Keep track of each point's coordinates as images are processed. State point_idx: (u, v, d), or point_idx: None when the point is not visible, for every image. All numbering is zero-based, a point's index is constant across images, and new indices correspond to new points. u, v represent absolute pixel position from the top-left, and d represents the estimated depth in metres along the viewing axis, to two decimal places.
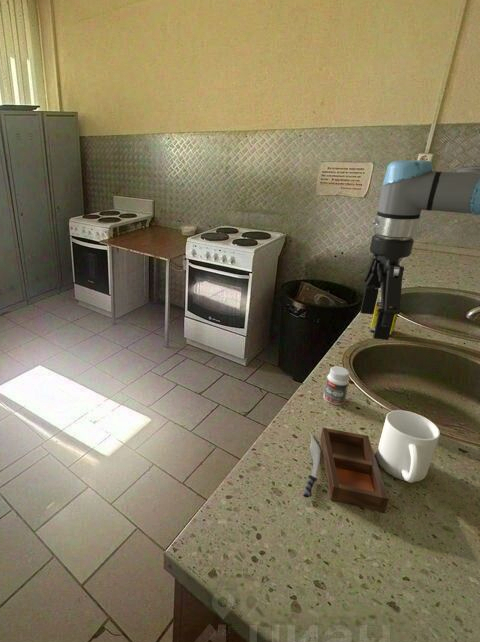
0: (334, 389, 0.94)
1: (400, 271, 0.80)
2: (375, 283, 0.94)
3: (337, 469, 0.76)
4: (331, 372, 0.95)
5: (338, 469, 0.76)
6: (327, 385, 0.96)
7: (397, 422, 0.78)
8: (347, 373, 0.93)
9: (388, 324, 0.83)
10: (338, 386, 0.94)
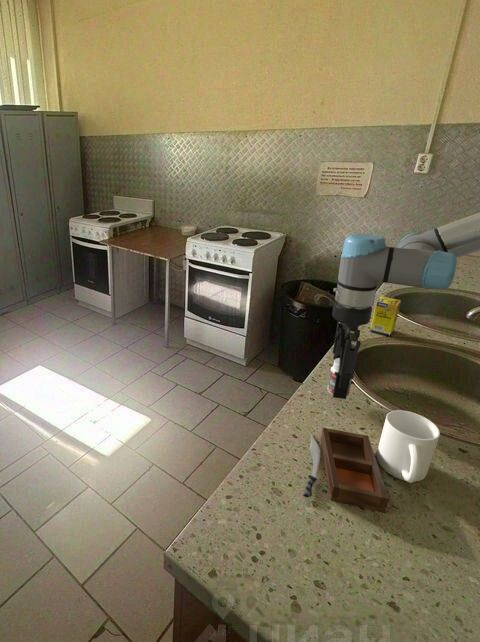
0: None
1: (356, 346, 0.85)
2: None
3: (337, 469, 0.76)
4: (334, 364, 0.94)
5: (338, 469, 0.76)
6: (331, 377, 0.95)
7: (397, 422, 0.78)
8: None
9: (344, 386, 0.91)
10: None
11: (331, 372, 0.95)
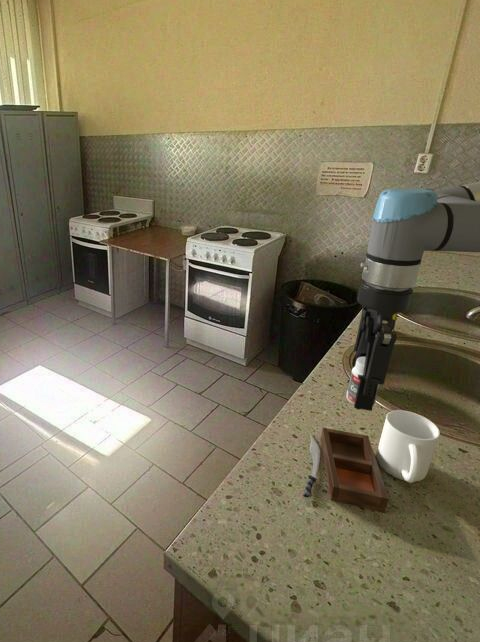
0: None
1: (391, 341, 0.63)
2: None
3: (337, 469, 0.76)
4: (357, 364, 0.71)
5: (338, 469, 0.76)
6: (352, 381, 0.73)
7: (397, 422, 0.78)
8: None
9: (371, 394, 0.69)
10: None
11: (352, 375, 0.72)
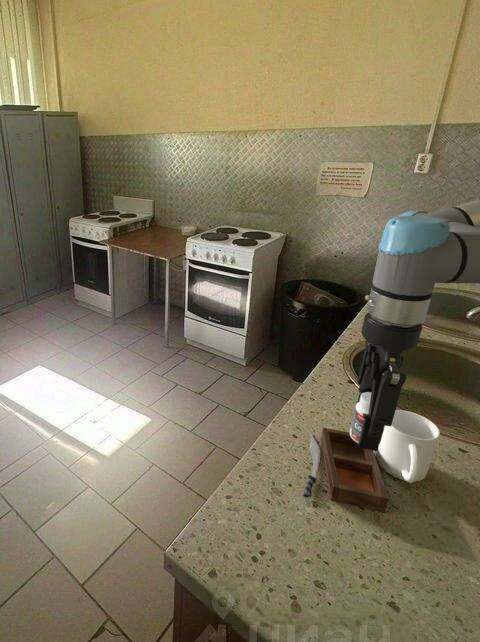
0: None
1: (400, 381, 0.58)
2: None
3: (337, 469, 0.76)
4: (362, 401, 0.67)
5: (338, 469, 0.76)
6: (356, 419, 0.68)
7: (397, 422, 0.78)
8: None
9: (377, 434, 0.64)
10: None
11: (356, 412, 0.68)
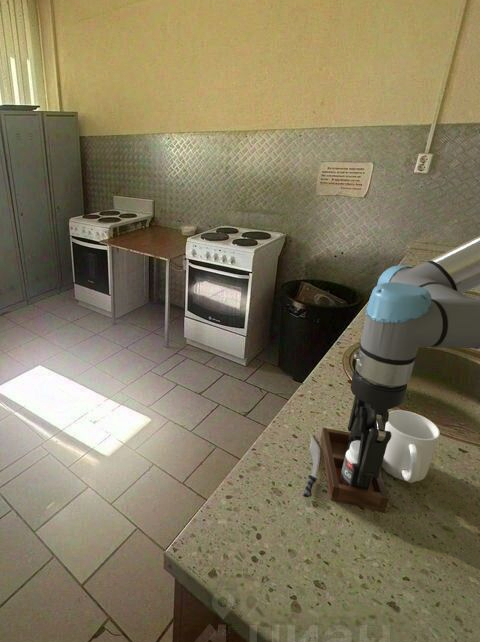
0: None
1: (386, 439, 0.61)
2: None
3: (337, 469, 0.76)
4: (351, 450, 0.70)
5: (338, 469, 0.76)
6: (346, 466, 0.71)
7: (397, 422, 0.78)
8: None
9: (365, 484, 0.68)
10: None
11: (346, 460, 0.71)
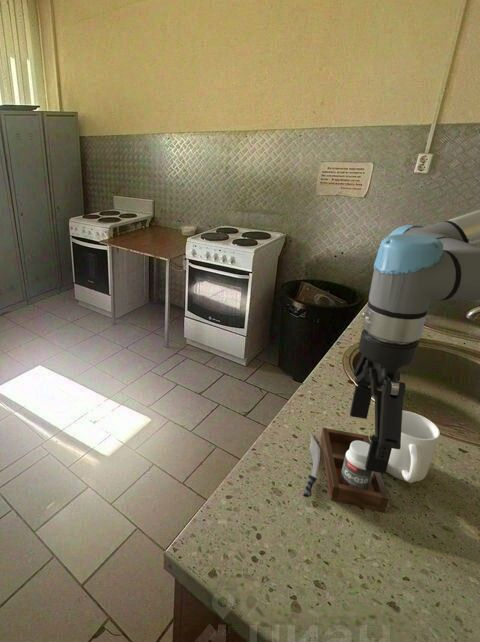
0: (356, 473, 0.70)
1: (400, 390, 0.58)
2: (368, 382, 0.72)
3: (337, 469, 0.76)
4: (351, 450, 0.70)
5: (338, 469, 0.76)
6: (346, 466, 0.71)
7: None
8: None
9: (385, 457, 0.60)
10: (362, 470, 0.69)
11: (346, 460, 0.71)
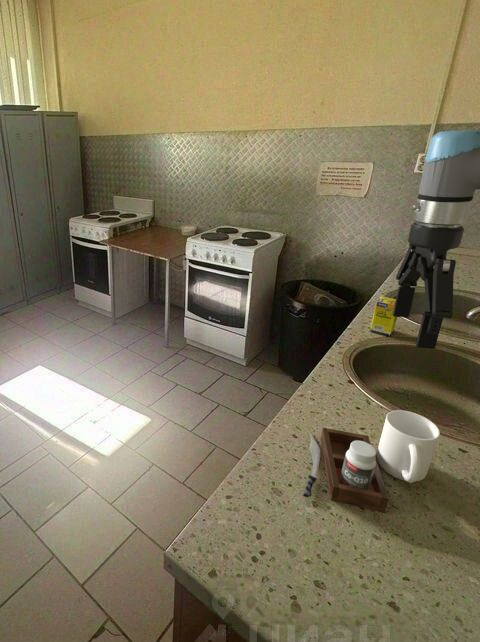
0: (356, 473, 0.70)
1: (451, 265, 0.66)
2: (411, 281, 0.80)
3: (337, 469, 0.76)
4: (351, 450, 0.70)
5: (338, 469, 0.76)
6: (346, 466, 0.71)
7: (397, 422, 0.78)
8: (374, 453, 0.69)
9: (436, 330, 0.68)
10: (362, 470, 0.69)
11: (346, 460, 0.71)
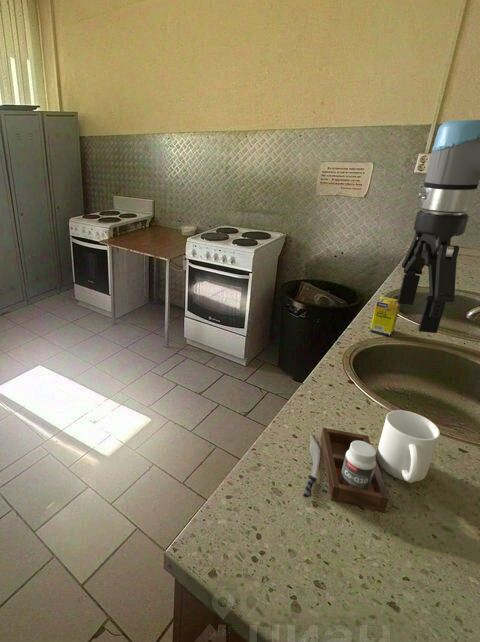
0: (356, 473, 0.70)
1: (454, 251, 0.68)
2: (416, 268, 0.82)
3: (337, 469, 0.76)
4: (351, 450, 0.70)
5: (338, 469, 0.76)
6: (346, 466, 0.71)
7: (397, 422, 0.78)
8: (374, 453, 0.69)
9: (438, 314, 0.71)
10: (362, 470, 0.69)
11: (346, 460, 0.71)
